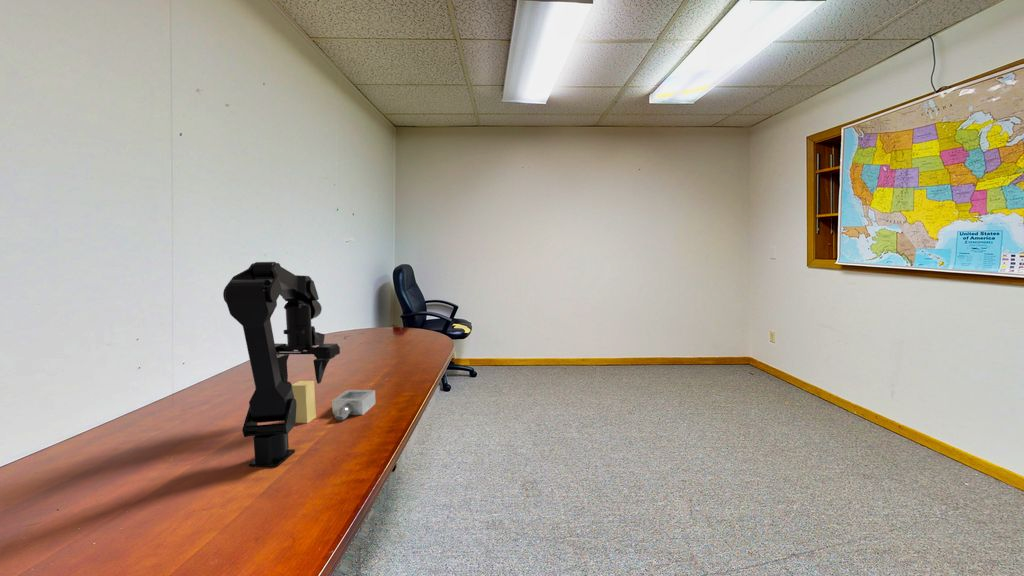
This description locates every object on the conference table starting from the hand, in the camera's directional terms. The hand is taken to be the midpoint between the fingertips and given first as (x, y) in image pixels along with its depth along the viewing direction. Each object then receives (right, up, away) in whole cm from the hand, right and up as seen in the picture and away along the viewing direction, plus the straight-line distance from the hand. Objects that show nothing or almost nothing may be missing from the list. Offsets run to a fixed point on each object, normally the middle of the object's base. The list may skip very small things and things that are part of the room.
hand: (302, 383), depth 106 cm
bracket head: (+11, -9, +8) cm, 16 cm away
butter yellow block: (0, -10, +1) cm, 10 cm away
